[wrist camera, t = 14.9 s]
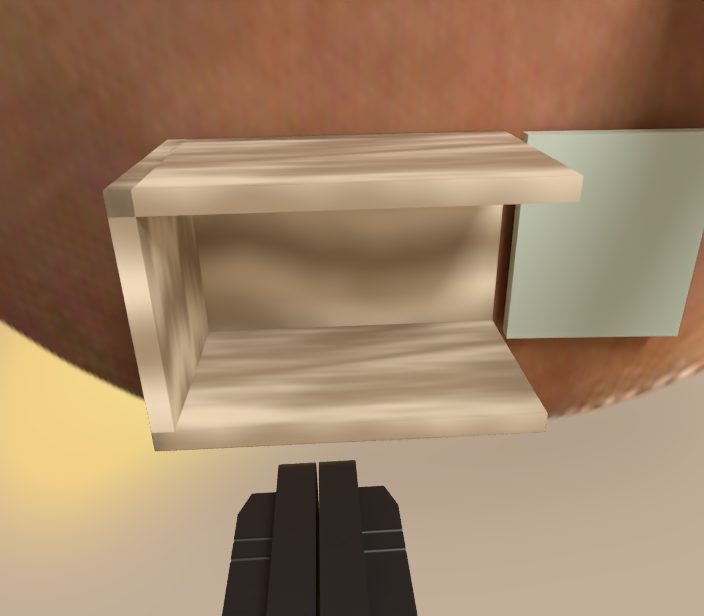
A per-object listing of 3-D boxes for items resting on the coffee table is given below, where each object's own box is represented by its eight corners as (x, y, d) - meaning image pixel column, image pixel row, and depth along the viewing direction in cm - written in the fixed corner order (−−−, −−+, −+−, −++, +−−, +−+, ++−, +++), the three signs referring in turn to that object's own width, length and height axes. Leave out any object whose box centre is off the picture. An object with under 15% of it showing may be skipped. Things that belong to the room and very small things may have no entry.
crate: (167, 139, 37) (102, 190, 26) (504, 130, 38) (583, 175, 26) (197, 339, 43) (155, 451, 32) (486, 327, 44) (545, 432, 32)
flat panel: (528, 134, 36) (728, 131, 36) (523, 131, 37) (717, 127, 37) (506, 338, 42) (677, 335, 42) (502, 330, 43) (669, 328, 43)
